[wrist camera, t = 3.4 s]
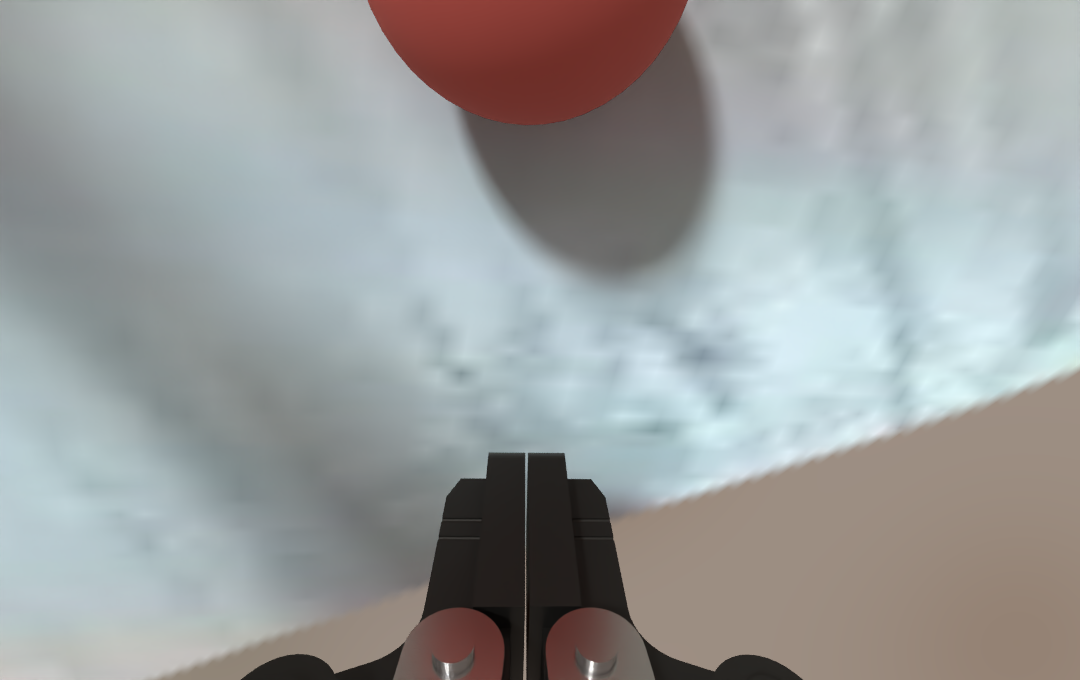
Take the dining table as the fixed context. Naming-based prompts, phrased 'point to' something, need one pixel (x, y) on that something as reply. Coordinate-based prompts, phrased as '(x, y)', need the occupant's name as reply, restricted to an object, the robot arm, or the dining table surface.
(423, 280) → the dining table surface
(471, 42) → the ball
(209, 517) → the dining table surface
